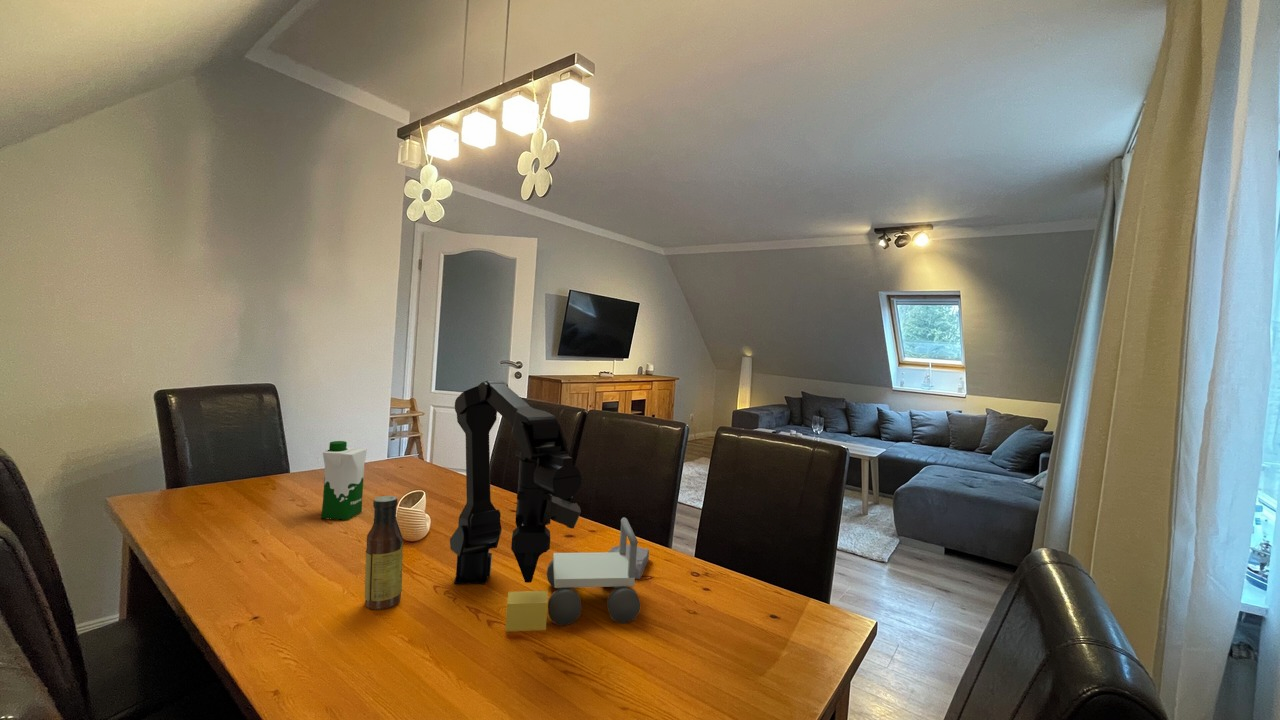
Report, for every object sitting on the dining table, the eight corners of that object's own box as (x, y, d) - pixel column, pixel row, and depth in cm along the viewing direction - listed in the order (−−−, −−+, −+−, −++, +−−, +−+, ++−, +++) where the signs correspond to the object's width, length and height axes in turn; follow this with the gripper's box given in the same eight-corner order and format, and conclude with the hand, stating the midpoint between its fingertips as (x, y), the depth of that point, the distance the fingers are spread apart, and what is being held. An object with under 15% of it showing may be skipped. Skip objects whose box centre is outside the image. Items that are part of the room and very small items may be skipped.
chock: (505, 632, 90) (507, 604, 90) (506, 618, 94) (508, 591, 94) (545, 630, 91) (547, 602, 91) (545, 617, 96) (547, 590, 96)
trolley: (547, 625, 92) (552, 543, 92) (546, 584, 108) (550, 513, 108) (639, 622, 96) (644, 542, 95) (625, 583, 111) (630, 514, 111)
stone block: (599, 583, 115) (643, 581, 113) (597, 561, 115) (640, 559, 113) (612, 564, 126) (651, 561, 125) (609, 544, 127) (649, 541, 125)
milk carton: (335, 509, 144) (339, 438, 144) (367, 511, 144) (371, 441, 144) (315, 519, 136) (319, 444, 135) (349, 522, 135) (353, 447, 135)
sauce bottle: (408, 599, 98) (414, 496, 98) (382, 614, 92) (388, 505, 92) (381, 592, 100) (387, 491, 100) (354, 606, 95) (360, 499, 94)
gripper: (583, 500, 84) (577, 594, 85) (575, 472, 103) (570, 549, 103) (514, 500, 82) (508, 596, 83) (519, 471, 101) (514, 550, 101)
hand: (528, 570), depth 92 cm, fingers open, 9 cm apart
